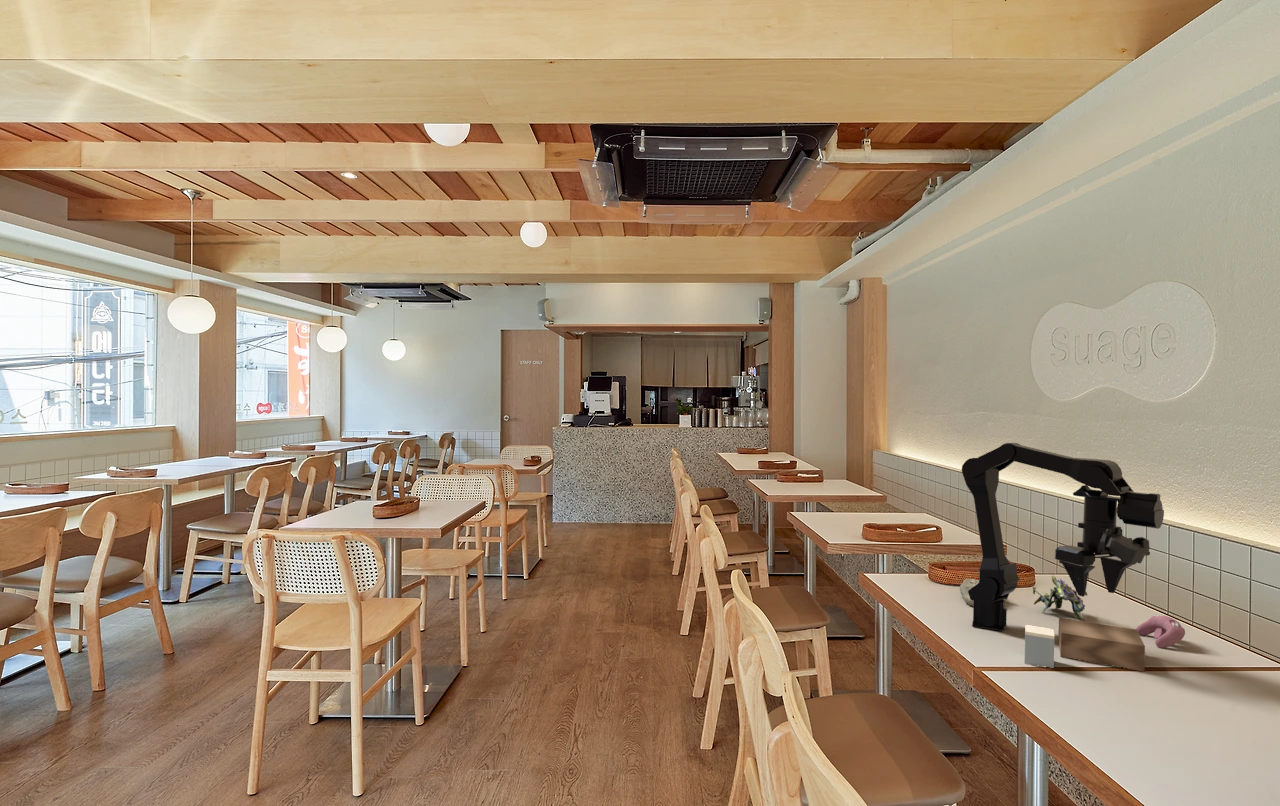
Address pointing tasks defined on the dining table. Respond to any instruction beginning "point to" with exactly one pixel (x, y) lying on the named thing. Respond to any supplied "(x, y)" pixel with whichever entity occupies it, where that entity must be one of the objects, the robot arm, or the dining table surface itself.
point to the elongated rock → (967, 586)
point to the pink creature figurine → (1162, 630)
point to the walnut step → (1101, 644)
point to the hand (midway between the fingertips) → (1096, 594)
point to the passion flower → (1062, 597)
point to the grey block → (1039, 646)
